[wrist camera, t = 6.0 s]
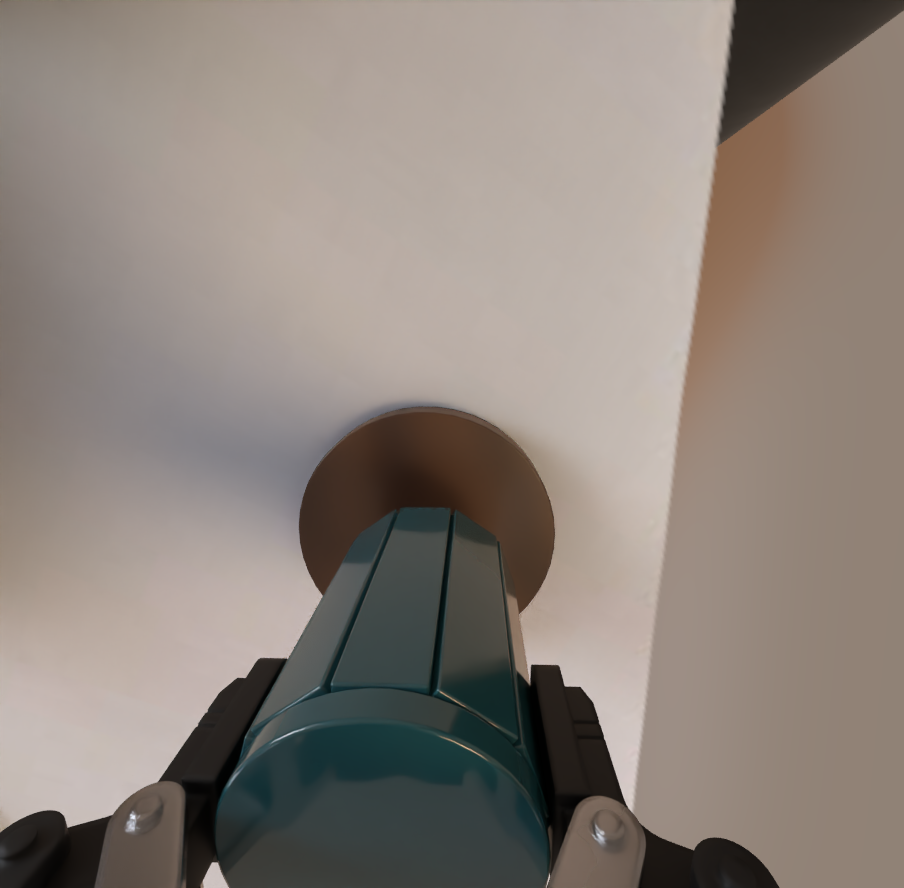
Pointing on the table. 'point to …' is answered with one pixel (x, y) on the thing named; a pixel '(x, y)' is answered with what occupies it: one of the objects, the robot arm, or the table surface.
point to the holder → (428, 489)
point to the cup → (397, 728)
